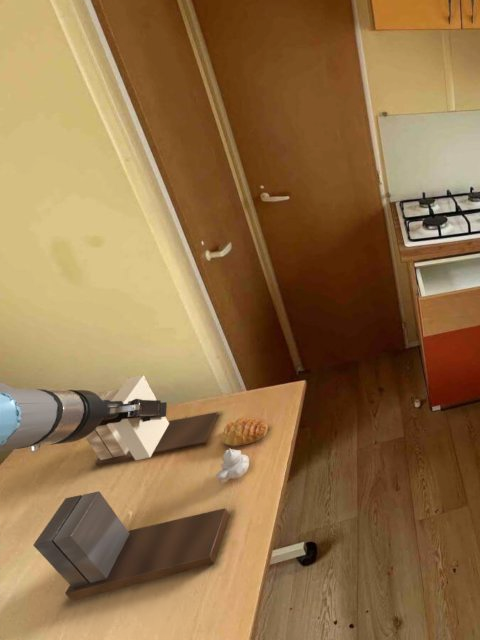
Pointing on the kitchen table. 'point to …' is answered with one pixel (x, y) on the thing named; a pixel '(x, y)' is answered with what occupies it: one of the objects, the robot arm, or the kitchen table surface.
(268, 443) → the kitchen table surface
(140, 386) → the white book
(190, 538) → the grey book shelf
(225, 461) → the white garlic bulb
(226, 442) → the pastry
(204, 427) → the wooden bookend
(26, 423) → the robot arm
